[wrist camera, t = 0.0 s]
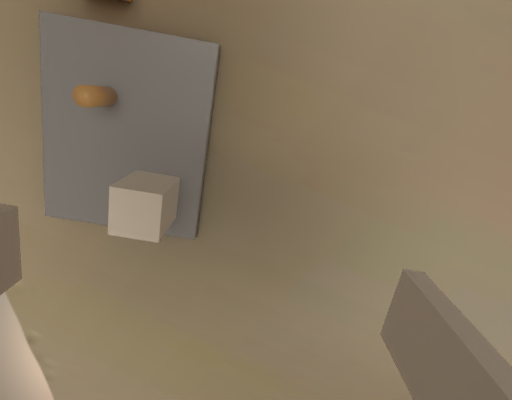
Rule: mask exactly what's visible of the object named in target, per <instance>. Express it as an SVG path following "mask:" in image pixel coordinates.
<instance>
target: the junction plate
mask: <svg viewBox="0 0 512 400" xmlns="http://www.w3.org/2000/svg"><path fill="white" fill-rule="evenodd" d="M39 28H40V62H41V95H42V129H43V163H44V197H45V216H51V217H57V218H63V219H69V220H75V221H81V222H88V223H94V224H100V225H106V226H108V235H113V236H119V237H125V238H131V239H137V240H144V241H150V242H156V243H159V242H160V240H161V239H162V237H163V236H164V235H168V236H174V237H180V238H186V239H193V240H195V238H196V236H197V230H198V222H199V214H200V206H201V198H202V191H203V183H204V175H205V167H206V159H207V151H208V143H209V135H210V127H211V119H212V111H213V103H214V95H215V87H216V79H217V71H218V64H219V56H220V48H221V46H220V45H219V44H217V43H212V42H206V41H201V40H195V39H190V38H185V37H179V36H174V35H168V34H163V33H158V32H152V31H147V30H142V29H136V28H131V27H125V26H120V25H115V24H109V23H104V22H98V21H93V20H88V19H82V18H77V17H71V16H66V15H61V14H55V13H50V12H44V11H39Z"/></svg>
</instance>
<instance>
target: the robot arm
mask: <svg viewBox="0 0 512 400" xmlns="http://www.w3.org/2000/svg"><path fill="white" fill-rule="evenodd" d="M21 279H22V272H21V255H20V237H19V219H18V206H13V205H6V204H0V295H1V294H2V293H4V292H5V291H6V290H8V289H9V288H10V287H12V286H13V285H14V284H15V283H17V282H18V281H19V280H21ZM380 334H381V336H382V338H383V340H384V342H385V344H386V346H387V348H388V350H389V352H390V354H391V356H392V358H393V360H394V362H395V364H396V366H397V368H398V370H399V372H400V374H401V376H402V378H403V380H404V382H405V384H406V386H407V388H408V390H409V392H410V394H411V396H412V398H413V400H512V367H511V366H510V365H509V363H508V362H507V361H506V360H505V359H504V358H503V357H502V356H501V355H500V354H499V353H498V352H497V350H496V349H495V348H494V347H493V346H492V345H491V344H490V343H489V342H488V341H487V340H486V339H485V337H484V336H483V335H482V334H481V333H480V332H479V331H478V330H477V329H476V328H475V327H474V326H473V324H472V323H471V322H470V321H469V320H468V319H467V318H466V317H465V316H464V315H463V314H462V313H461V311H460V310H459V309H458V308H457V307H456V306H455V305H454V304H453V303H452V302H451V301H450V299H449V298H448V297H447V296H446V295H445V294H444V293H443V292H442V291H441V290H440V289H439V288H438V286H437V285H436V284H435V283H434V282H433V281H432V280H431V279H430V278H429V277H428V276H427V275H426V273H425V272H419V271H413V270H407V269H403V271H402V273H401V276H400V279H399V282H398V285H397V288H396V291H395V293H394V296H393V299H392V302H391V305H390V308H389V311H388V313H387V316H386V319H385V322H384V325H383V328H382V331H381V333H380Z"/></svg>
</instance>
